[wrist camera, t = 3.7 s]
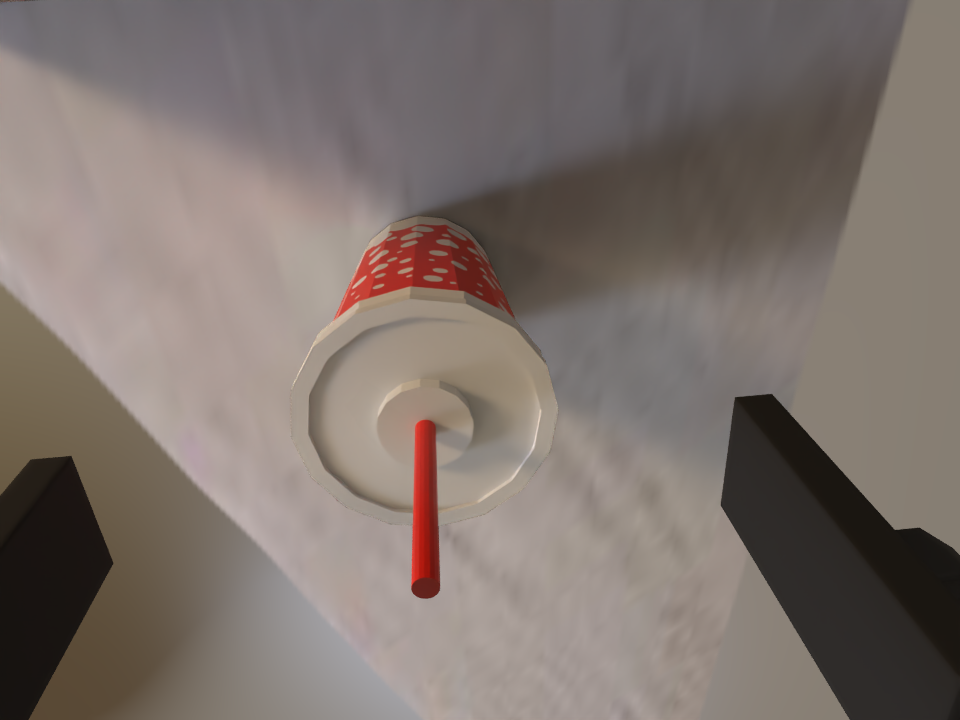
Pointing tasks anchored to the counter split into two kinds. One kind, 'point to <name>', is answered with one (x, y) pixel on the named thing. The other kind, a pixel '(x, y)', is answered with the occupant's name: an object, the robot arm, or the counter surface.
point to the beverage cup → (423, 390)
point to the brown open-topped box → (13, 0)
